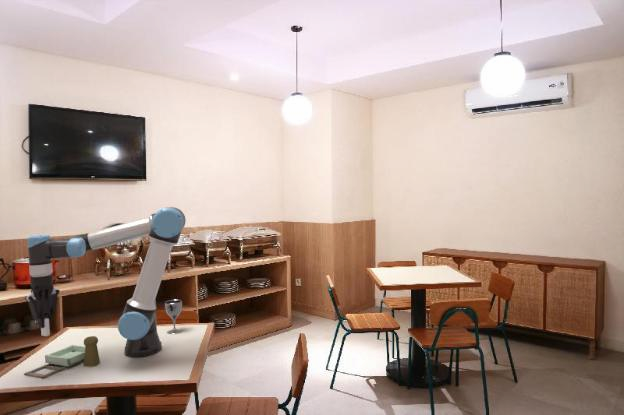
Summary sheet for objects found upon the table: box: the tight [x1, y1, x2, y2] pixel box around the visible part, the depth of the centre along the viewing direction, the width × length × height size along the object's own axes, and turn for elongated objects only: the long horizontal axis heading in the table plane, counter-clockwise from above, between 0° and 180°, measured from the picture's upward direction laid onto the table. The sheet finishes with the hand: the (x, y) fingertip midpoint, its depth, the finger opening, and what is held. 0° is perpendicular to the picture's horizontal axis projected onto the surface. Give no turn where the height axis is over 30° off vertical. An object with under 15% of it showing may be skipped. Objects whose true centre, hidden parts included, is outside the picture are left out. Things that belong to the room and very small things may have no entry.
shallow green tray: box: [44, 344, 85, 367], centre depth 180 cm, size 13×13×3 cm
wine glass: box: [164, 299, 183, 335], centre depth 217 cm, size 8×8×15 cm
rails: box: [23, 360, 84, 379], centre depth 176 cm, size 11×23×1 cm, turn 159°
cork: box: [83, 335, 101, 368], centre depth 177 cm, size 6×6×11 cm
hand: (45, 335), depth 170 cm, fingers closed
